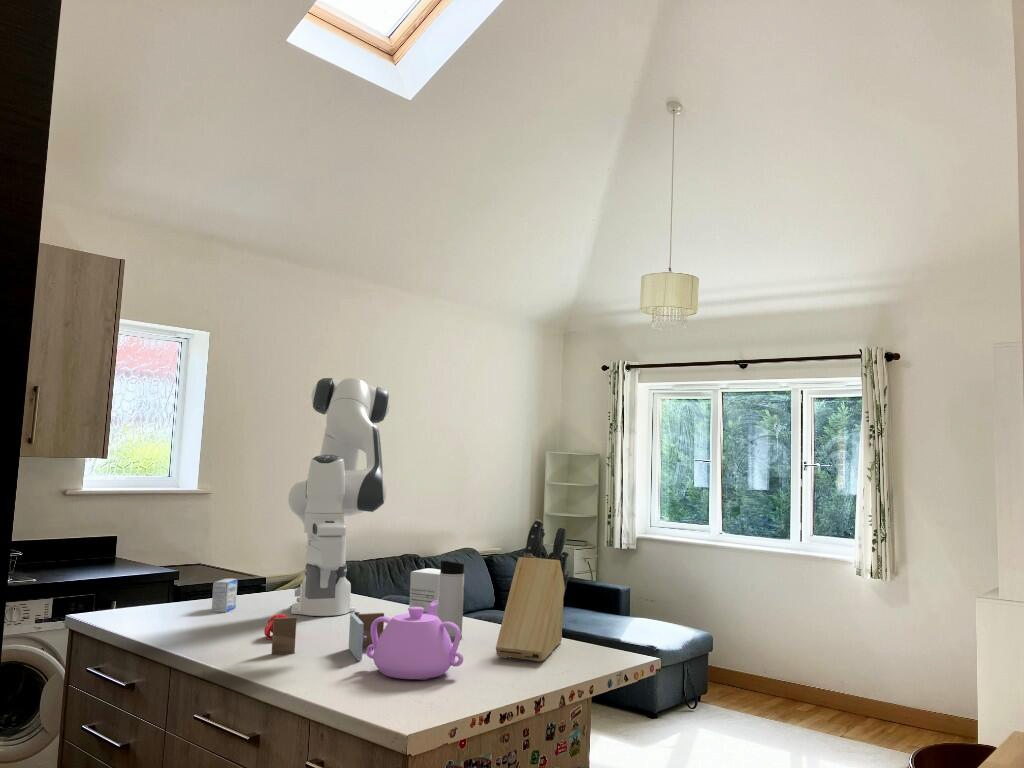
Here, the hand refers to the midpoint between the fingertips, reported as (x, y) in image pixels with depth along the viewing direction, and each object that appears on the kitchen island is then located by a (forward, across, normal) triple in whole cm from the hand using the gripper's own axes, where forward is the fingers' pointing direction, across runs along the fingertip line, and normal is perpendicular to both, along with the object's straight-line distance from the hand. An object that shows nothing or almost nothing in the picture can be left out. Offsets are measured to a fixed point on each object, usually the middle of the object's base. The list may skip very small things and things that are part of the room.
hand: (320, 585), depth 184 cm
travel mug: (+16, -10, +36) cm, 40 cm away
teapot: (+16, +18, +18) cm, 30 cm away
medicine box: (+16, -65, -14) cm, 68 cm away
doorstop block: (+3, 0, 0) cm, 3 cm away
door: (+16, +1, +9) cm, 18 cm away
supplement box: (+16, -28, +37) cm, 49 cm away
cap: (+16, -23, -5) cm, 28 cm away
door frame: (+16, -6, +3) cm, 17 cm away
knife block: (+16, +6, +53) cm, 56 cm away
